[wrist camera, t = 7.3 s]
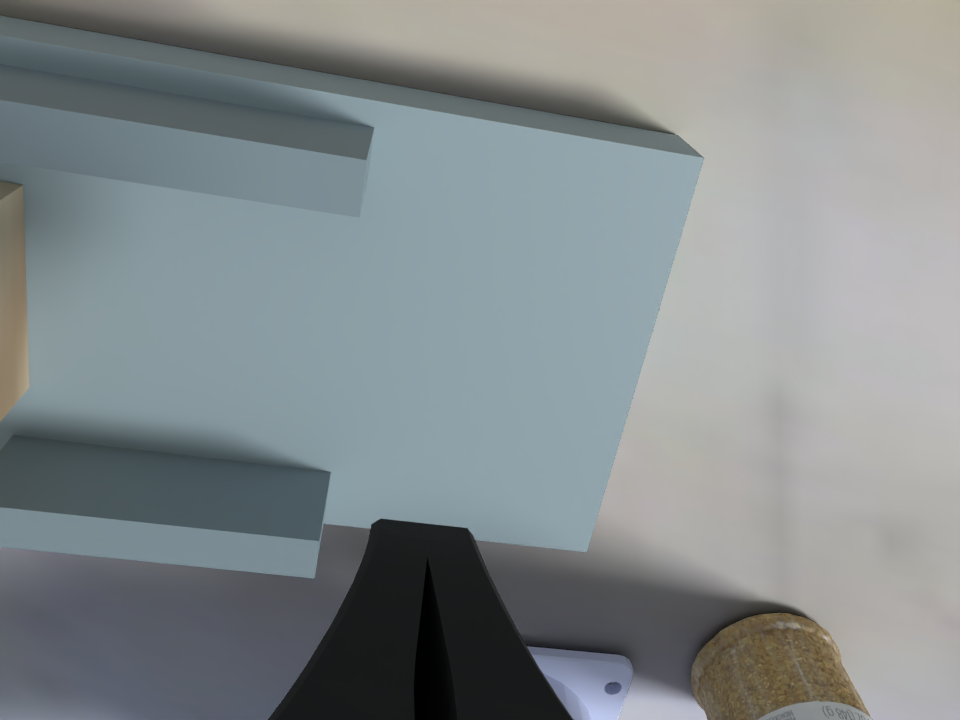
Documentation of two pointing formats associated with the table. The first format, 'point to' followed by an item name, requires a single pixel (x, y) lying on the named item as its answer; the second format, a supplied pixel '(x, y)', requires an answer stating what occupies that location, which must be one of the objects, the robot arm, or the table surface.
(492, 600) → the robot arm
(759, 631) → the sprinkles bottle
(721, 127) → the table surface
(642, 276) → the deck
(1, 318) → the block
